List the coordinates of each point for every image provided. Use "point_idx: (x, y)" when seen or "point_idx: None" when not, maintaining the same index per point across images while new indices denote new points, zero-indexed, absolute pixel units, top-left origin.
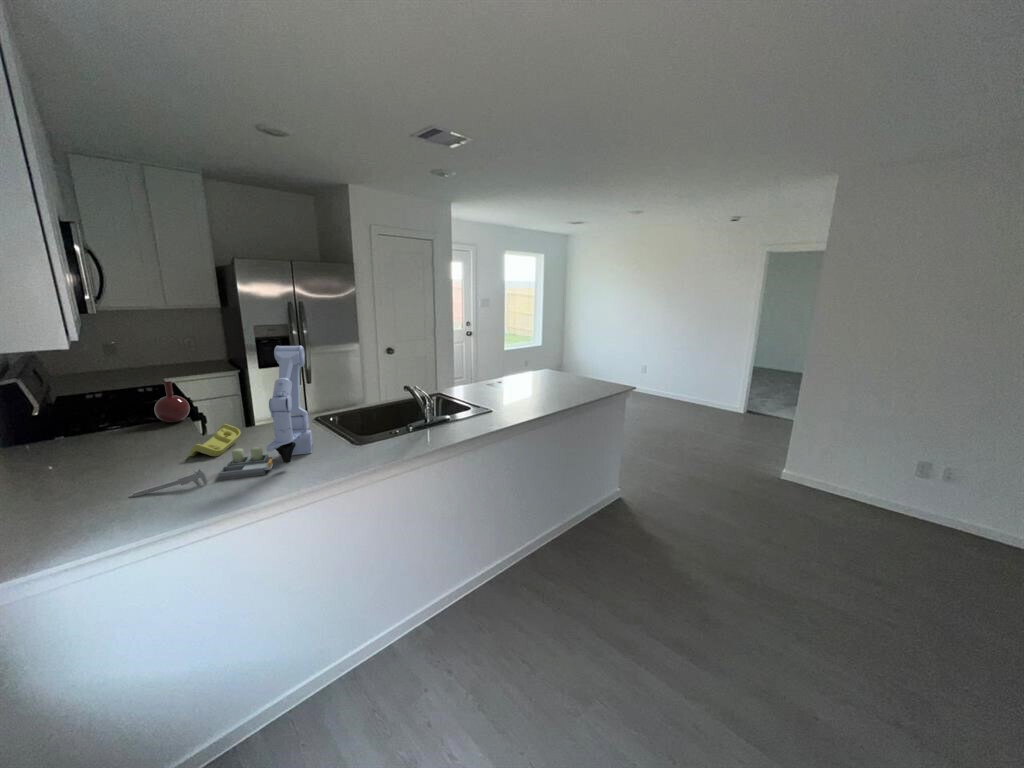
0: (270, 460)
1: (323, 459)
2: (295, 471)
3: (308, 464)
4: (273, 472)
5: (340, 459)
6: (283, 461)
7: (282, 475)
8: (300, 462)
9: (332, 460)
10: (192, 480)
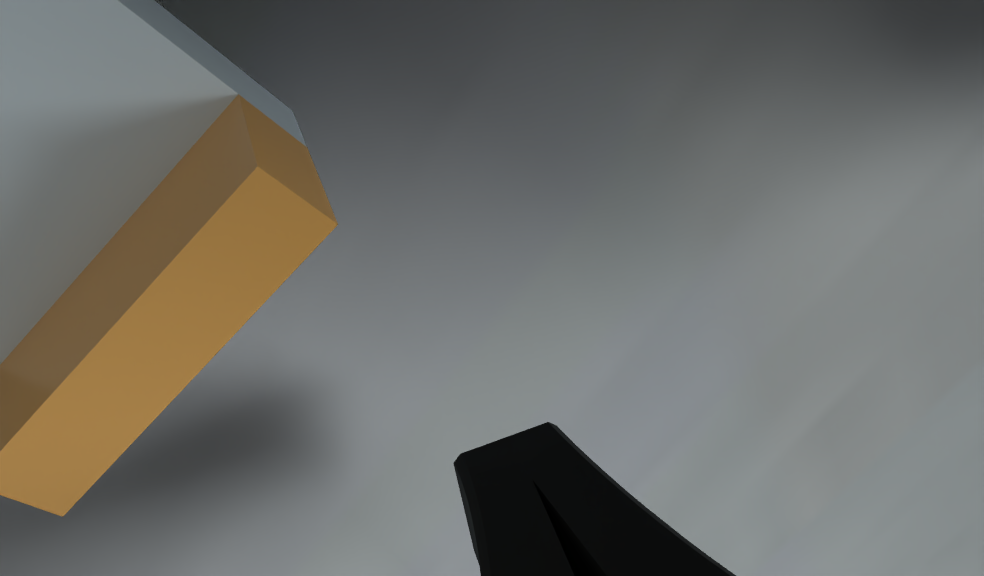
0: (188, 334)
1: (942, 434)
2: (443, 549)
3: (739, 445)
4: None
5: (959, 564)
6: (463, 490)
7: (189, 562)
8: (777, 273)
9: (923, 534)
10: None
